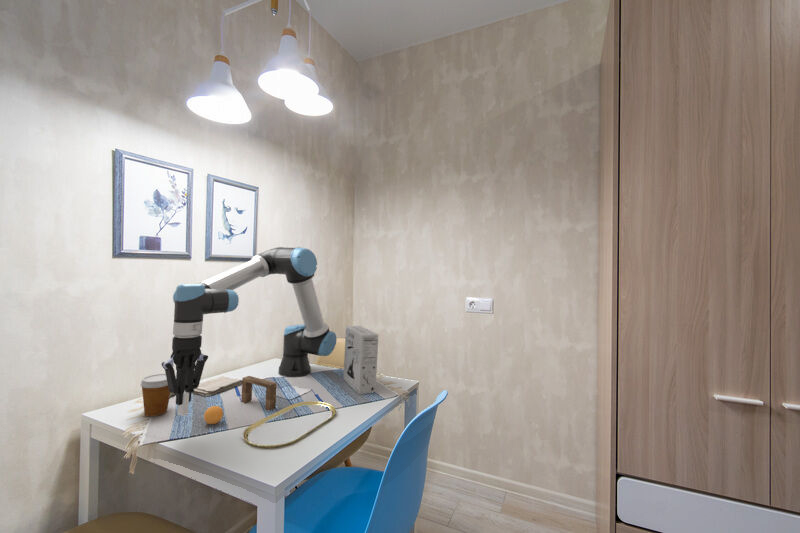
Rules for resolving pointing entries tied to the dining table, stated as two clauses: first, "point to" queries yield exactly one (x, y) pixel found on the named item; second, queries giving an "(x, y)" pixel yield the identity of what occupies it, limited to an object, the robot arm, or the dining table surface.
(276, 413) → the oval ring
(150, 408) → the disposable coffee cup
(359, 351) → the cereal box
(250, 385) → the bridge
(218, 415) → the ball
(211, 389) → the washcloth
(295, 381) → the dining table surface
